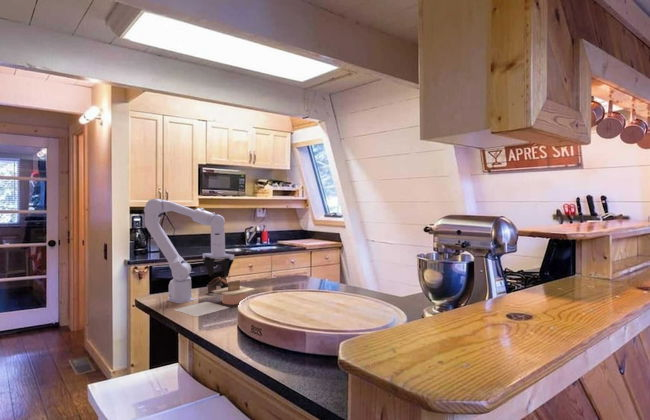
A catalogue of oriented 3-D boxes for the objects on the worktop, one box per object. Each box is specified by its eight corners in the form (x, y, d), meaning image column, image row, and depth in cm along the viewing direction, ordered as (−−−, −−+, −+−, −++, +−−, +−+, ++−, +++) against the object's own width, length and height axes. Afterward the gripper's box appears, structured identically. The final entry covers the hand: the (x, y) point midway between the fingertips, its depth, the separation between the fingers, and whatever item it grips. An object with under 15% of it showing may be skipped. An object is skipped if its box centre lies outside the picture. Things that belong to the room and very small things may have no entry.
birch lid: (212, 292, 172) (212, 282, 172) (235, 286, 182) (235, 277, 181) (232, 296, 165) (232, 285, 165) (255, 290, 174) (254, 280, 174)
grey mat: (173, 310, 161) (173, 309, 161) (206, 302, 173) (206, 301, 173) (196, 317, 152) (196, 316, 152) (229, 308, 164) (229, 307, 164)
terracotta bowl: (217, 302, 173) (216, 291, 173) (236, 297, 180) (236, 287, 180) (232, 306, 166) (232, 295, 166) (252, 301, 174) (251, 290, 174)
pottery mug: (229, 296, 185) (219, 281, 183) (211, 305, 186) (201, 290, 184) (236, 284, 196) (226, 269, 194) (219, 292, 198) (209, 278, 196)
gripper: (197, 244, 176) (198, 276, 177) (227, 245, 171) (227, 278, 172) (208, 242, 183) (208, 273, 183) (236, 243, 178) (237, 275, 178)
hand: (218, 275), depth 178 cm, fingers open, 7 cm apart
